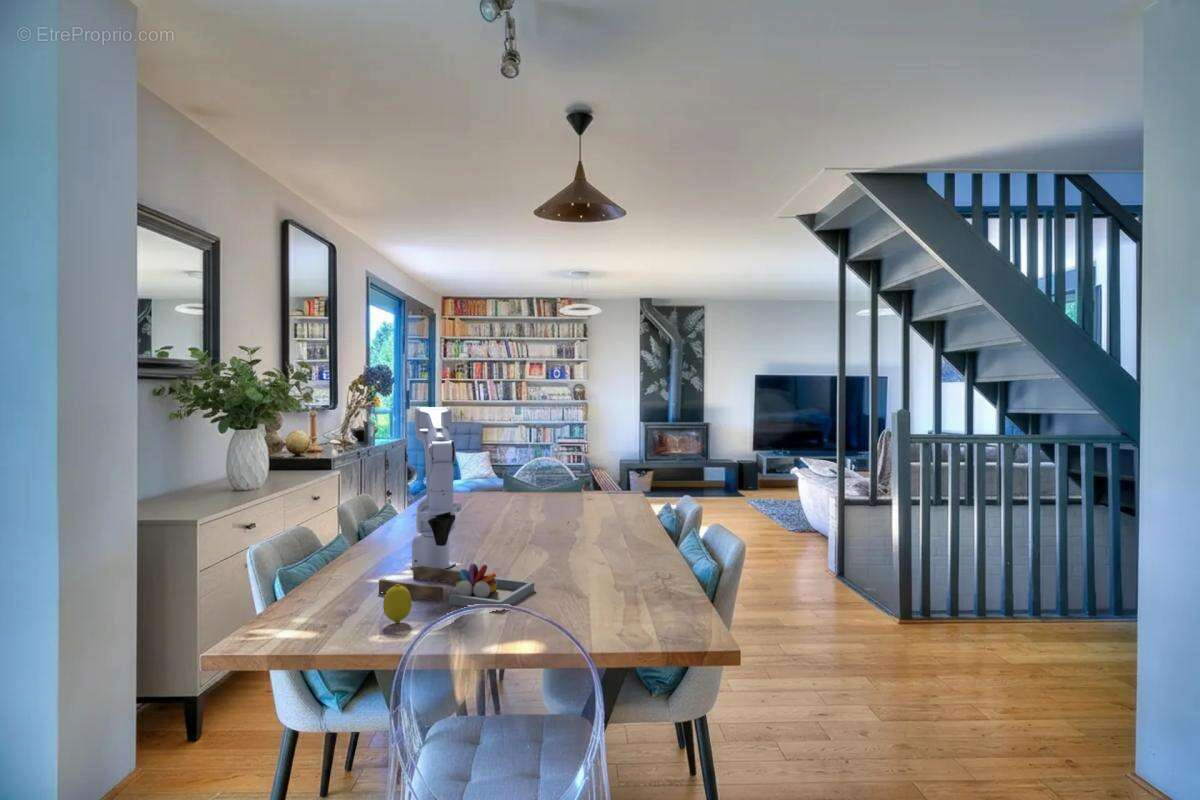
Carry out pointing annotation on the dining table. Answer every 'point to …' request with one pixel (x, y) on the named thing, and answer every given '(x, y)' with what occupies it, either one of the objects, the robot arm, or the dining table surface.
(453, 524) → the robot arm
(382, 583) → the lane rails
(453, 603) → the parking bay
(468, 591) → the multicolored rounded disc cluster
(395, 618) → the lemon
